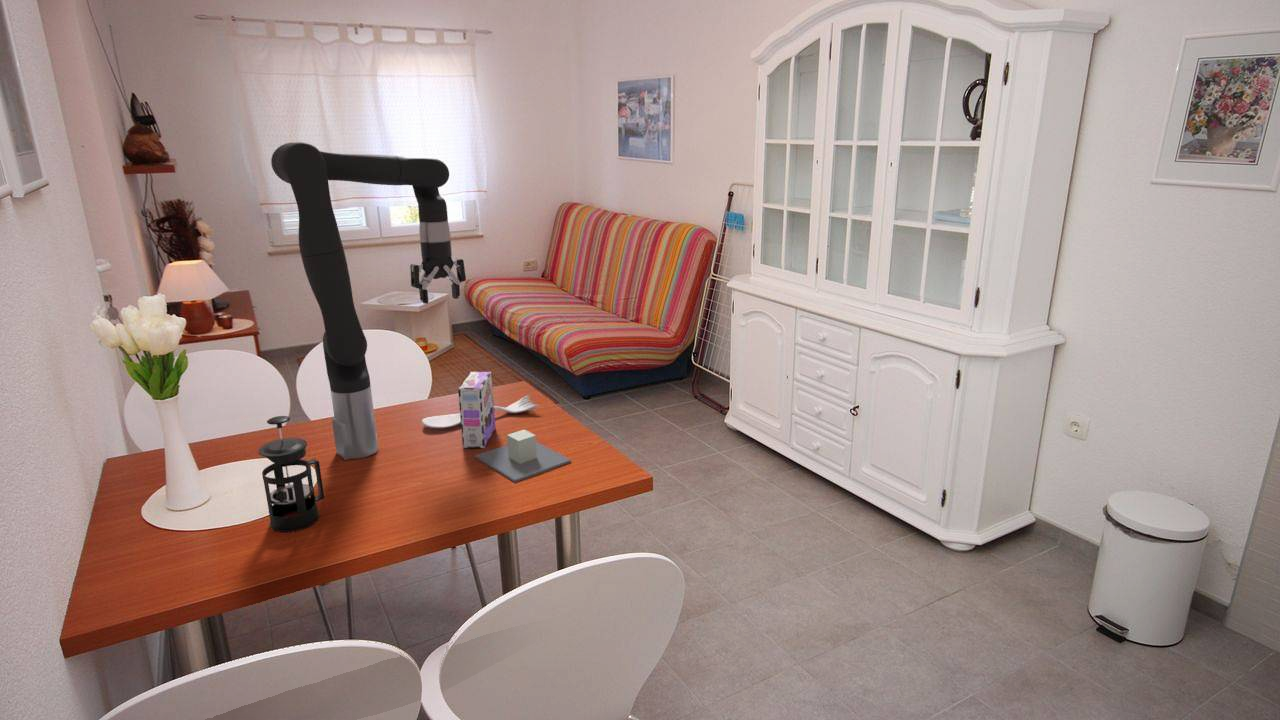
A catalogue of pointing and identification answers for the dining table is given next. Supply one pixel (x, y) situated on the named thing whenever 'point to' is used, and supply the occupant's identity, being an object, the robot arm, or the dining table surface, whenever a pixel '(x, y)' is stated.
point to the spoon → (455, 419)
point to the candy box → (476, 409)
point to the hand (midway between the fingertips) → (440, 300)
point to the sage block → (522, 446)
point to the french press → (291, 495)
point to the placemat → (524, 470)
